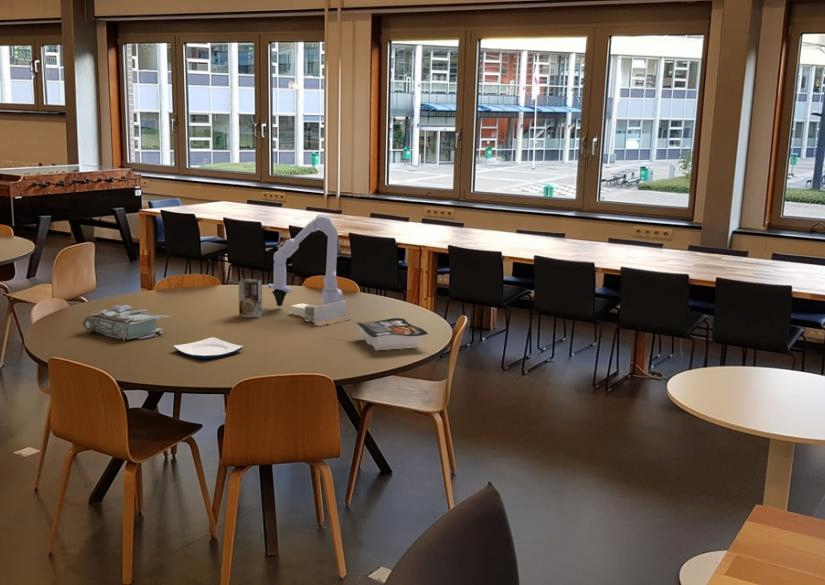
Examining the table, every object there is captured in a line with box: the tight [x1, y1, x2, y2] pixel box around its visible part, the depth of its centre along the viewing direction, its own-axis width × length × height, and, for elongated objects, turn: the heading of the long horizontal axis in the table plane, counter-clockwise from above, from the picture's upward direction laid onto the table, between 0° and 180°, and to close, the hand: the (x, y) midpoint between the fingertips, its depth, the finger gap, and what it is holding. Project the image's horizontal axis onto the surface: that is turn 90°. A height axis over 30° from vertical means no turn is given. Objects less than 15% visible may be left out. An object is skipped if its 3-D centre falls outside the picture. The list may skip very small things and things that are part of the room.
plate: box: [172, 336, 244, 360], centre depth 316 cm, size 20×20×3 cm
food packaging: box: [354, 317, 429, 351], centre depth 337 cm, size 25×8×23 cm
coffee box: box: [238, 278, 263, 318], centre depth 373 cm, size 9×6×16 cm
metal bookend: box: [313, 300, 347, 324], centre depth 368 cm, size 19×4×8 cm, turn 141°
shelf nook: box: [304, 303, 331, 321], centre depth 372 cm, size 14×8×6 cm, turn 141°
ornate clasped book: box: [81, 304, 174, 342], centre depth 338 cm, size 23×10×30 cm
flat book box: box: [288, 303, 317, 316], centre depth 380 cm, size 8×12×4 cm, turn 51°
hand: (279, 305), depth 390 cm, fingers closed
